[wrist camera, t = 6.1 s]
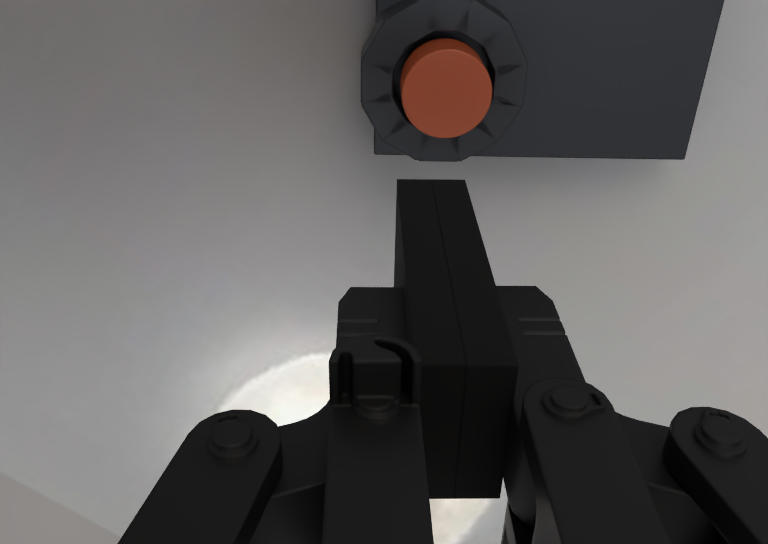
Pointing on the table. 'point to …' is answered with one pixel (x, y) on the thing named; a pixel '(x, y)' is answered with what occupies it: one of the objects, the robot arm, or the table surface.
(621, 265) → the table surface
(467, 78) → the button
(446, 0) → the dark grey button plate
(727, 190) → the table surface
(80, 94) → the table surface
